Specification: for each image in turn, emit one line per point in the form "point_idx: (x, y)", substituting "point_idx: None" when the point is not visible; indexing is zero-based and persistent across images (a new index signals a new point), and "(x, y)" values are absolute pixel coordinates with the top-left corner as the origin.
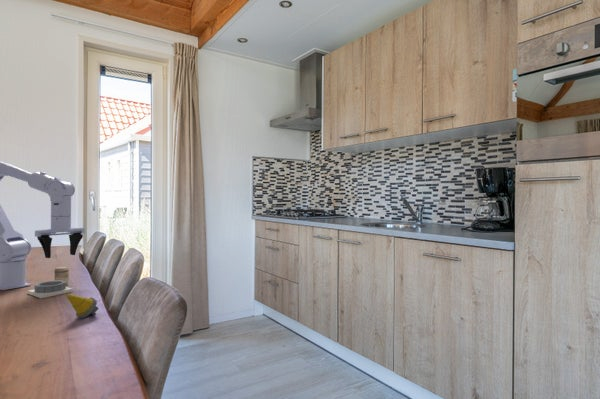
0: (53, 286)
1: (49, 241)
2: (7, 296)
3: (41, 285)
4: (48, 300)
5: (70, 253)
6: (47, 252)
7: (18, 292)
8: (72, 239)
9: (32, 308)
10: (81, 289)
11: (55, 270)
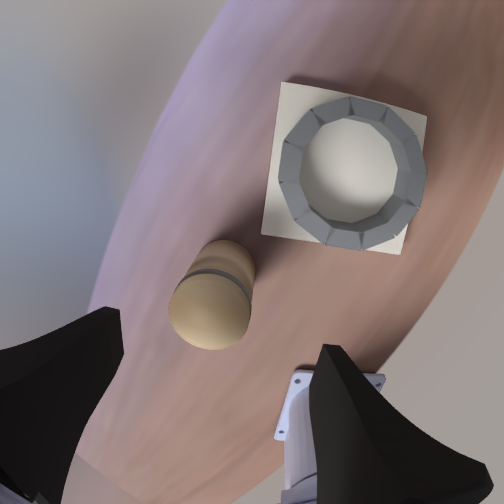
0: (383, 105)
1: (414, 460)
2: (441, 278)
3: (370, 224)
4: (420, 57)
5: (119, 357)
6: (364, 378)
7: (388, 306)
8: (43, 440)
9: (486, 32)
10: (226, 93)
11: (249, 315)
